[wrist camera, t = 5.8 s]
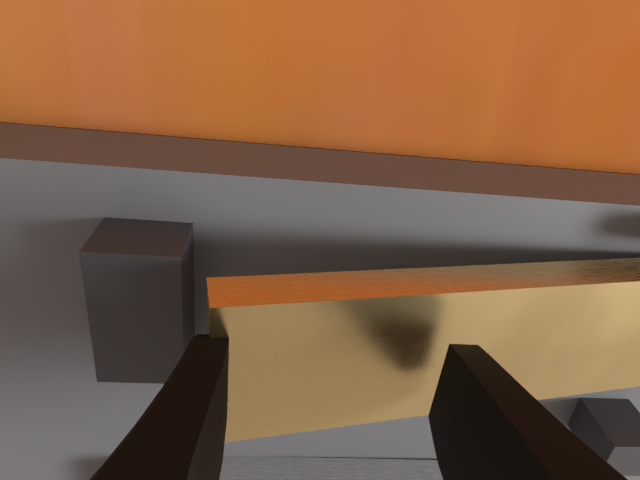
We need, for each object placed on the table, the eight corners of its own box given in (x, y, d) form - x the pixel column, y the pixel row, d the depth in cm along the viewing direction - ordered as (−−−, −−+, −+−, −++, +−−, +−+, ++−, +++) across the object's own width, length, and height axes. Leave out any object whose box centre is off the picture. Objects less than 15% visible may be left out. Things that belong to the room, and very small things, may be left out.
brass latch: (680, 255, 13) (716, 276, 12) (627, 359, 14) (655, 383, 14) (206, 277, 10) (209, 307, 9) (206, 408, 11) (209, 444, 10)
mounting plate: (570, 485, 21) (632, 595, 18) (-25, 480, 19) (-102, 609, 15) (728, 182, 15) (881, 253, 11) (-147, 110, 12) (-339, 170, 8)
